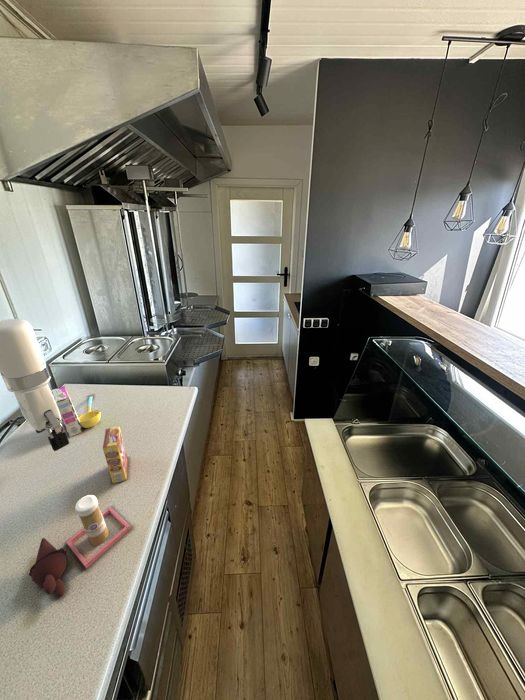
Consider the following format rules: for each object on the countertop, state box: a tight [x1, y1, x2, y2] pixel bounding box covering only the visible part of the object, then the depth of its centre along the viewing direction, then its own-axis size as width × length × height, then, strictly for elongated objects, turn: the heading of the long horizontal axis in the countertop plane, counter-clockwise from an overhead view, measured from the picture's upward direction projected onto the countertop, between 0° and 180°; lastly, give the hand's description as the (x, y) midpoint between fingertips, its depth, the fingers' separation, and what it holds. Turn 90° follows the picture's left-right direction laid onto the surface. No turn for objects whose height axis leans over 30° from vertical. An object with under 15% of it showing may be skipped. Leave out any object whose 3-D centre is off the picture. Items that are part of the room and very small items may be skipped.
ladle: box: [78, 395, 102, 429], centre depth 120 cm, size 9×26×6 cm, turn 29°
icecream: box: [28, 537, 68, 599], centre depth 66 cm, size 7×7×15 cm
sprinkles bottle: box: [74, 494, 110, 546], centre depth 71 cm, size 5×5×14 cm
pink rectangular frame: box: [65, 506, 132, 569], centre depth 74 cm, size 12×10×2 cm
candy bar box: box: [50, 385, 84, 438], centre depth 109 cm, size 11×5×16 cm, turn 40°
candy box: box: [102, 426, 129, 484], centre depth 90 cm, size 9×4×15 cm, turn 20°
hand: (52, 438), depth 68 cm, fingers open, 9 cm apart
